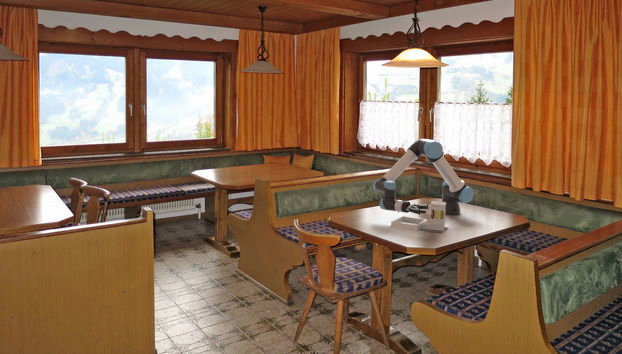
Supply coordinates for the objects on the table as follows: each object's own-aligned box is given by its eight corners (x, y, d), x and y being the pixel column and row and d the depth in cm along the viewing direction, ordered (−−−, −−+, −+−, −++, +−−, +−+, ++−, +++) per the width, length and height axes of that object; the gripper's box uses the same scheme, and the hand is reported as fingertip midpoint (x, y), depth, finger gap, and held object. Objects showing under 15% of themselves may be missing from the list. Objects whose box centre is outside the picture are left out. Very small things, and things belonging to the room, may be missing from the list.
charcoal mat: (427, 225, 349) (427, 224, 349) (448, 228, 342) (448, 227, 341) (419, 230, 337) (419, 229, 337) (441, 233, 330) (441, 232, 330)
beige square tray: (402, 220, 361) (402, 215, 361) (427, 224, 352) (427, 219, 352) (391, 226, 346) (391, 221, 345) (417, 230, 336) (417, 225, 336)
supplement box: (428, 229, 335) (429, 203, 332) (429, 226, 344) (430, 200, 341) (444, 231, 333) (445, 204, 330) (444, 227, 341) (446, 201, 339)
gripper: (409, 208, 359) (440, 212, 348) (395, 215, 338) (427, 220, 327) (410, 197, 358) (441, 201, 347) (395, 204, 337) (428, 208, 326)
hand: (434, 210), depth 337 cm, fingers open, 13 cm apart
